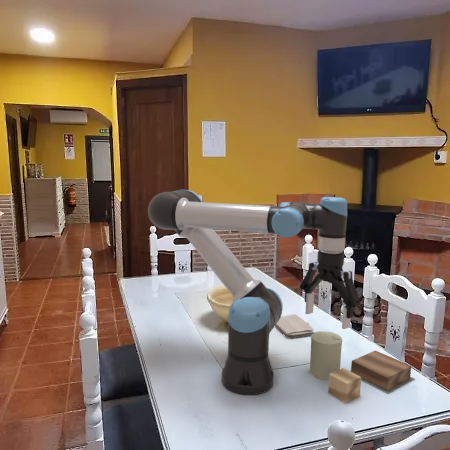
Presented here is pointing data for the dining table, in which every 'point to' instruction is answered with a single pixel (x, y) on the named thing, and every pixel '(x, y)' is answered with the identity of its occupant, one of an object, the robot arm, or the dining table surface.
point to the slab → (381, 370)
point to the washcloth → (294, 327)
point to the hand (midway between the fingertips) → (326, 320)
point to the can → (325, 354)
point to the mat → (392, 388)
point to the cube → (344, 385)
